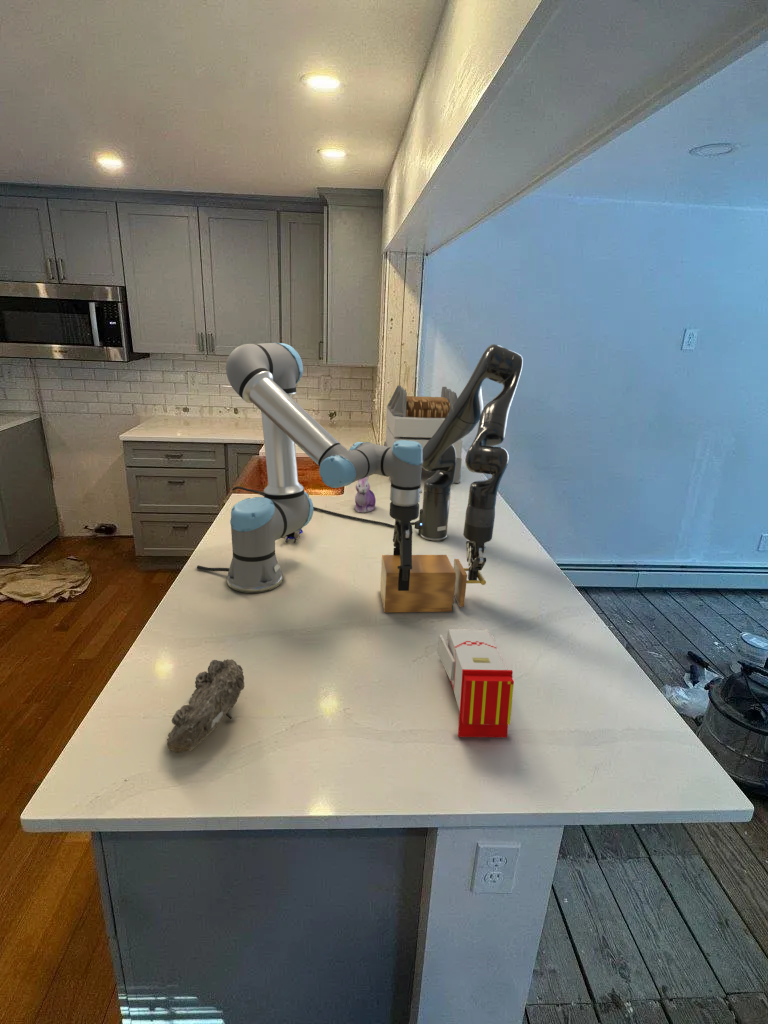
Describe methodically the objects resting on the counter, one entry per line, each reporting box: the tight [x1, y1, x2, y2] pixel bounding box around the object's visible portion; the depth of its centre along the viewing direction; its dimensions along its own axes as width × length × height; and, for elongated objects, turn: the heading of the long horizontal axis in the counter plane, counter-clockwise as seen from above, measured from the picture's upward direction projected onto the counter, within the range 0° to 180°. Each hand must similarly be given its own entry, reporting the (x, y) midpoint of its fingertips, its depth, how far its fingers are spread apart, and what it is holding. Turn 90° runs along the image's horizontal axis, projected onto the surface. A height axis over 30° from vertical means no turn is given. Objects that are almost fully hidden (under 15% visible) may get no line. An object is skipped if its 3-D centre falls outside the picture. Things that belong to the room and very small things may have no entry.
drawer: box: [453, 558, 487, 608], centre depth 153 cm, size 22×10×9 cm, turn 96°
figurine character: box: [281, 528, 304, 544], centre depth 192 cm, size 7×8×15 cm
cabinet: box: [379, 554, 455, 613], centre depth 152 cm, size 18×11×12 cm, turn 96°
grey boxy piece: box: [383, 384, 464, 484], centre depth 268 cm, size 34×33×41 cm
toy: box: [437, 628, 515, 738], centre depth 117 cm, size 12×13×30 cm
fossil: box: [166, 658, 245, 754], centre depth 106 cm, size 22×10×15 cm
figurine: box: [354, 476, 376, 513], centre depth 220 cm, size 9×10×15 cm
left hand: (400, 579), depth 151 cm, fingers closed on cabinet, 11 cm apart
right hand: (472, 580), depth 154 cm, fingers closed
